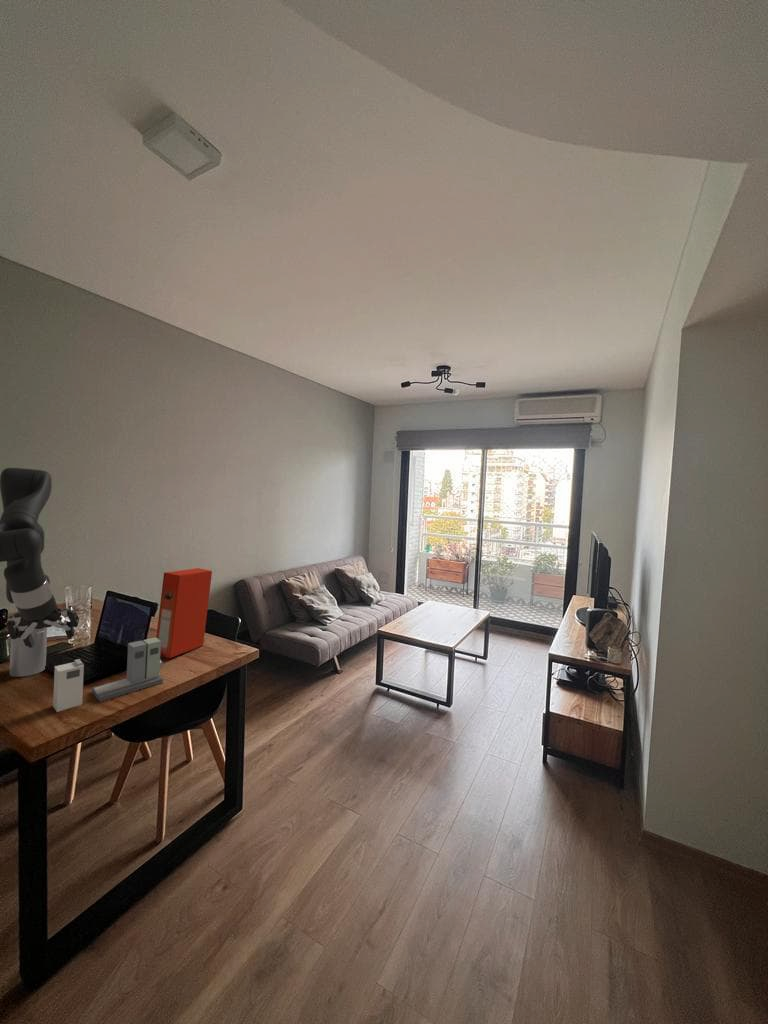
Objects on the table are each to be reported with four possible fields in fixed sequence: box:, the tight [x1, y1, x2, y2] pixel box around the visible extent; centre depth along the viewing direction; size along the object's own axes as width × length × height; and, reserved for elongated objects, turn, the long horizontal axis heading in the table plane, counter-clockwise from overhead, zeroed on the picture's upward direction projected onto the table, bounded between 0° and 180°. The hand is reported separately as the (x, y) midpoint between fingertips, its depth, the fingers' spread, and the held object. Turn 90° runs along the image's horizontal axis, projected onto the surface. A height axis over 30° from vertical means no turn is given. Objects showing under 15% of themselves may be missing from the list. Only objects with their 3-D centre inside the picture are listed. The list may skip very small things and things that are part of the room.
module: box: [52, 658, 85, 713], centre depth 118 cm, size 5×6×13 cm
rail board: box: [91, 637, 164, 703], centre depth 130 cm, size 8×18×14 cm, turn 141°
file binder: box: [156, 567, 213, 659], centre depth 160 cm, size 8×17×32 cm, turn 162°
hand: (51, 641), depth 110 cm, fingers open, 8 cm apart
